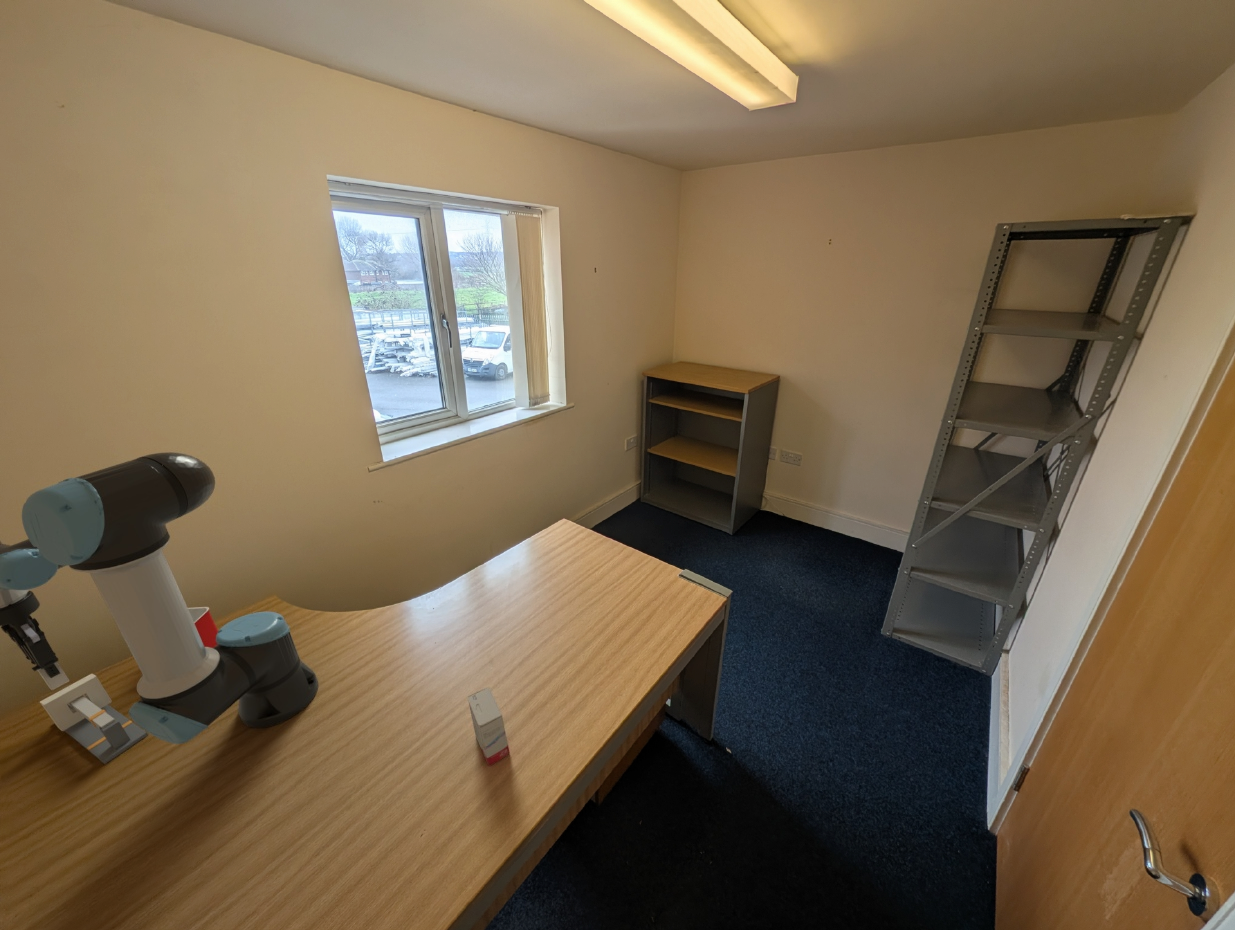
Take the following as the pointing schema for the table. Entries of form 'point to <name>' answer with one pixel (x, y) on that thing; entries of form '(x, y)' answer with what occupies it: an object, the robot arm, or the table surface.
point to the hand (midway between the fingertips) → (59, 684)
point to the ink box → (488, 725)
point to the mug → (204, 625)
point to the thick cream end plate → (59, 700)
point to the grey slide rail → (103, 730)
